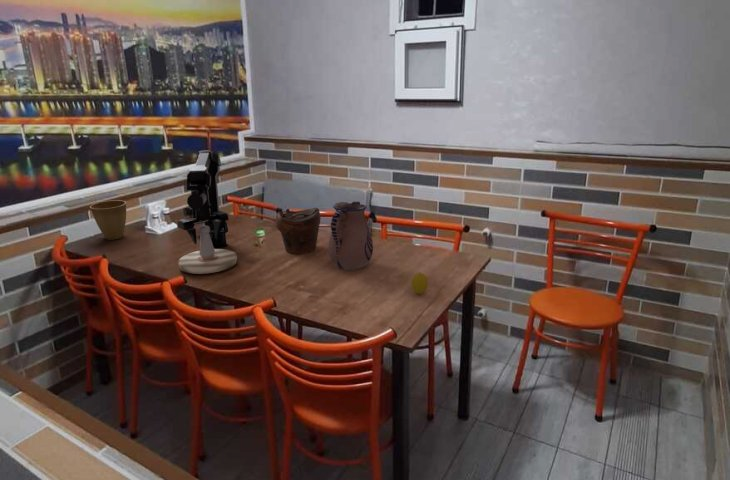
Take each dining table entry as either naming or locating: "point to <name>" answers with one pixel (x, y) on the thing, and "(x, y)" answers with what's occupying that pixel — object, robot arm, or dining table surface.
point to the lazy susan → (207, 262)
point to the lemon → (419, 283)
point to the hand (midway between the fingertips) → (206, 241)
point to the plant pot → (110, 218)
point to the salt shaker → (206, 243)
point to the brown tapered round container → (299, 229)
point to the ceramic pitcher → (350, 236)
